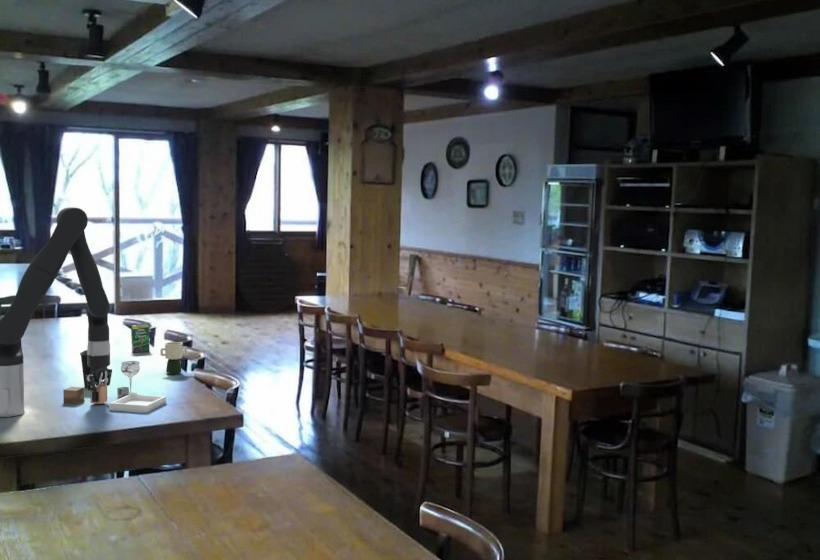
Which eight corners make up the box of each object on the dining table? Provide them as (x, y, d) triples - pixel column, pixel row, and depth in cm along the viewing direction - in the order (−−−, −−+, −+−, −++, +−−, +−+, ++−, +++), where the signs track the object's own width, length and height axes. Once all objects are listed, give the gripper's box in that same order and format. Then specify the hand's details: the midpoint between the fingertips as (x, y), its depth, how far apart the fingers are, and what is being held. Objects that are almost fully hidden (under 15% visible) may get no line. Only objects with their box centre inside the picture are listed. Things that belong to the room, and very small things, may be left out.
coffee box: (132, 353, 380) (131, 325, 379) (131, 351, 382) (130, 324, 381) (149, 351, 384) (149, 325, 382) (148, 350, 386) (148, 324, 385)
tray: (146, 412, 274) (146, 405, 273) (109, 410, 276) (109, 403, 276) (166, 403, 287) (166, 396, 287) (130, 400, 290) (130, 393, 289)
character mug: (185, 371, 342) (185, 341, 341) (188, 374, 336) (188, 343, 335) (158, 372, 337) (158, 342, 336) (162, 376, 331) (162, 345, 330)
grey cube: (125, 400, 290) (125, 389, 290) (115, 399, 291) (115, 389, 290) (131, 397, 294) (131, 387, 294) (121, 397, 295) (121, 386, 294)
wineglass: (134, 396, 295) (133, 365, 294) (117, 395, 297) (117, 363, 296) (143, 392, 302) (143, 361, 301) (127, 391, 303) (127, 360, 302)
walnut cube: (76, 404, 283) (76, 390, 283) (63, 403, 284) (63, 389, 284) (84, 401, 288) (84, 387, 288) (71, 400, 289) (71, 386, 288)
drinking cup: (80, 385, 311) (80, 335, 309) (101, 384, 314) (101, 334, 312) (80, 390, 304) (79, 338, 302) (101, 388, 307) (100, 337, 305)
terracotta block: (101, 403, 282) (100, 387, 281) (90, 403, 282) (90, 386, 282) (107, 401, 286) (107, 384, 285) (97, 400, 286) (97, 384, 286)
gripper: (100, 348, 290) (100, 395, 292) (77, 355, 276) (77, 404, 278) (119, 350, 289) (119, 396, 290) (97, 356, 275) (97, 405, 276)
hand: (99, 400), depth 284 cm, fingers closed on terracotta block, 4 cm apart
